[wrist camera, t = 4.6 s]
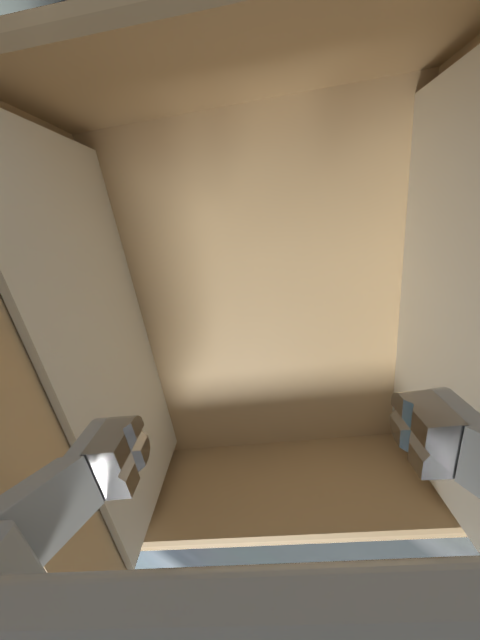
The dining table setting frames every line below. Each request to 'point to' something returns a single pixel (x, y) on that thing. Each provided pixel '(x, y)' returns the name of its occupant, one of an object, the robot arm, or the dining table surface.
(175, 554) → the dining table surface
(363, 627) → the robot arm
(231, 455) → the carton
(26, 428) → the flap
